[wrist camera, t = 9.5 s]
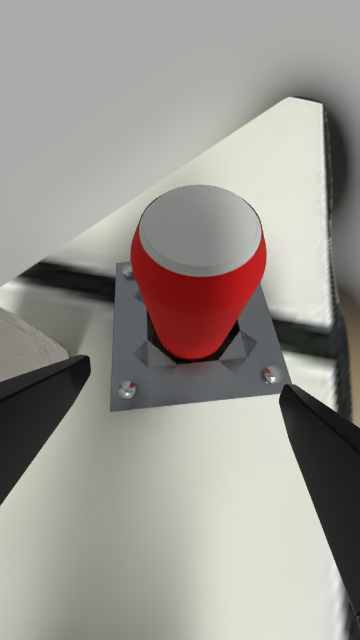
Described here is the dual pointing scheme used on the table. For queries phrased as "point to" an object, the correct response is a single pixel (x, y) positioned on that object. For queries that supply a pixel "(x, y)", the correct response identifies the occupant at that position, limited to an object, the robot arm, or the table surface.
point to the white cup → (25, 347)
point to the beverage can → (197, 266)
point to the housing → (193, 378)
